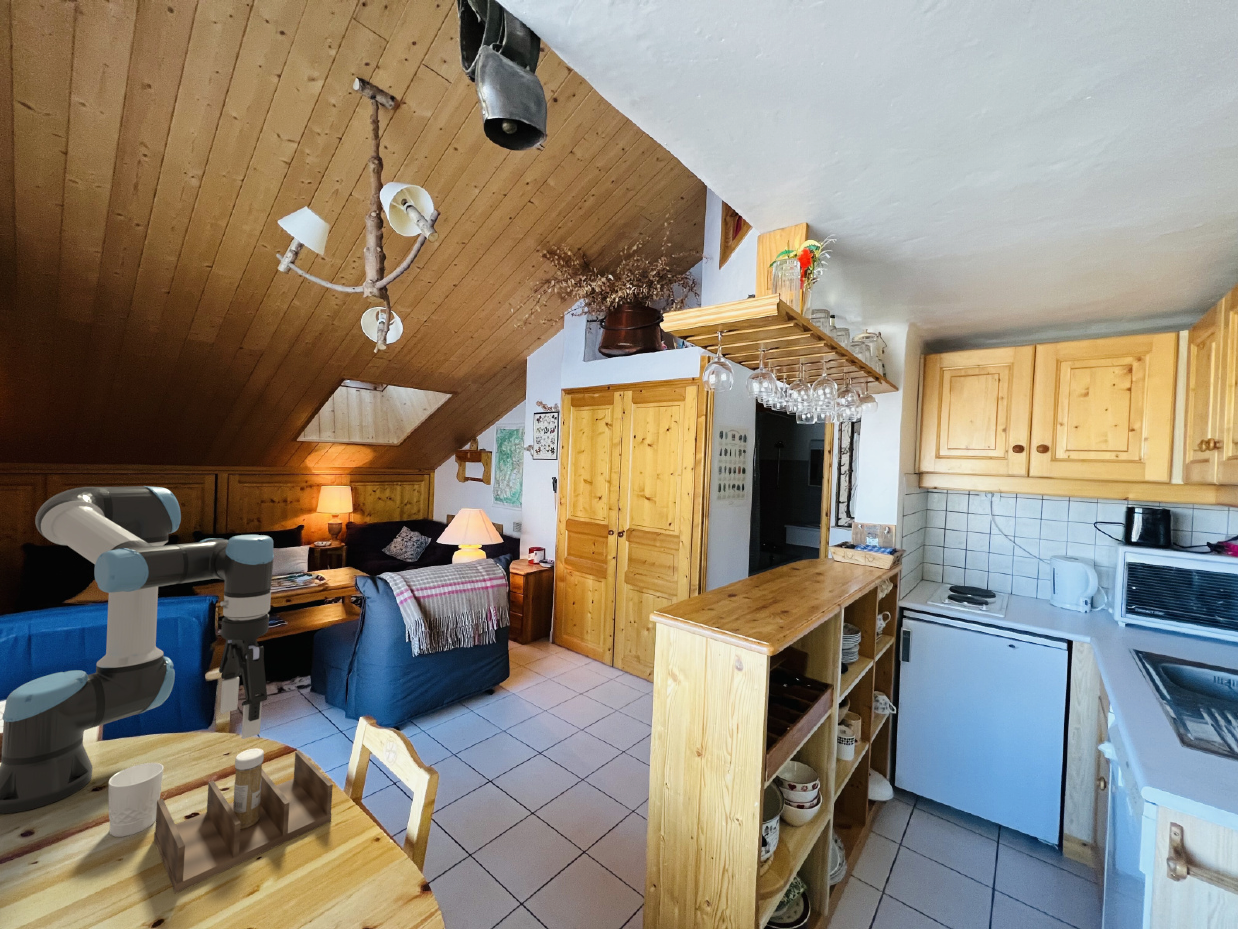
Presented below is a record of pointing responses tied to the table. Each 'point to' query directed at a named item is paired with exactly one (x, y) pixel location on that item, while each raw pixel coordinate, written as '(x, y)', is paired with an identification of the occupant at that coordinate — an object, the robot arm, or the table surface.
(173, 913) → the table surface
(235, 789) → the sprinkles bottle
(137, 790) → the white cup
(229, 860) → the slot rack
